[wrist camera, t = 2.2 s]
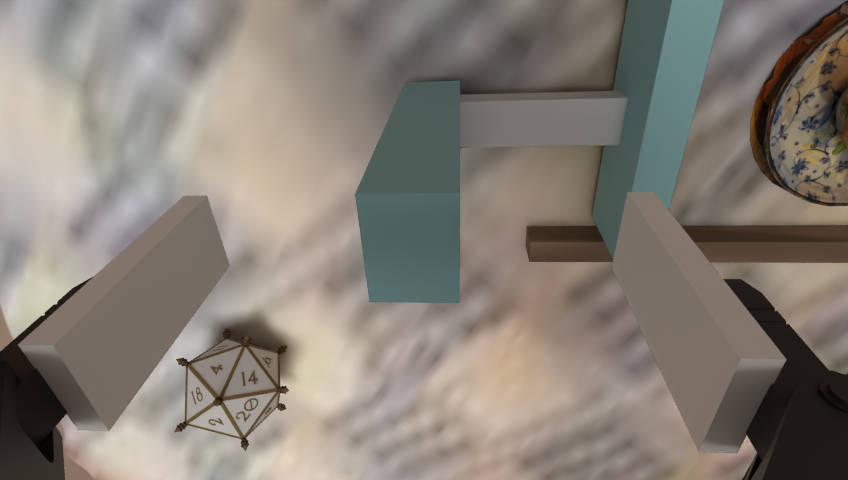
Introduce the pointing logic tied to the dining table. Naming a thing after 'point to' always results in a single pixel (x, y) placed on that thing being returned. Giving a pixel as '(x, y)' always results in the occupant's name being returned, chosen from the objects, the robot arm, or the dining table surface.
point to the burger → (807, 116)
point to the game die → (232, 388)
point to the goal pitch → (703, 244)
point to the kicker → (526, 127)
